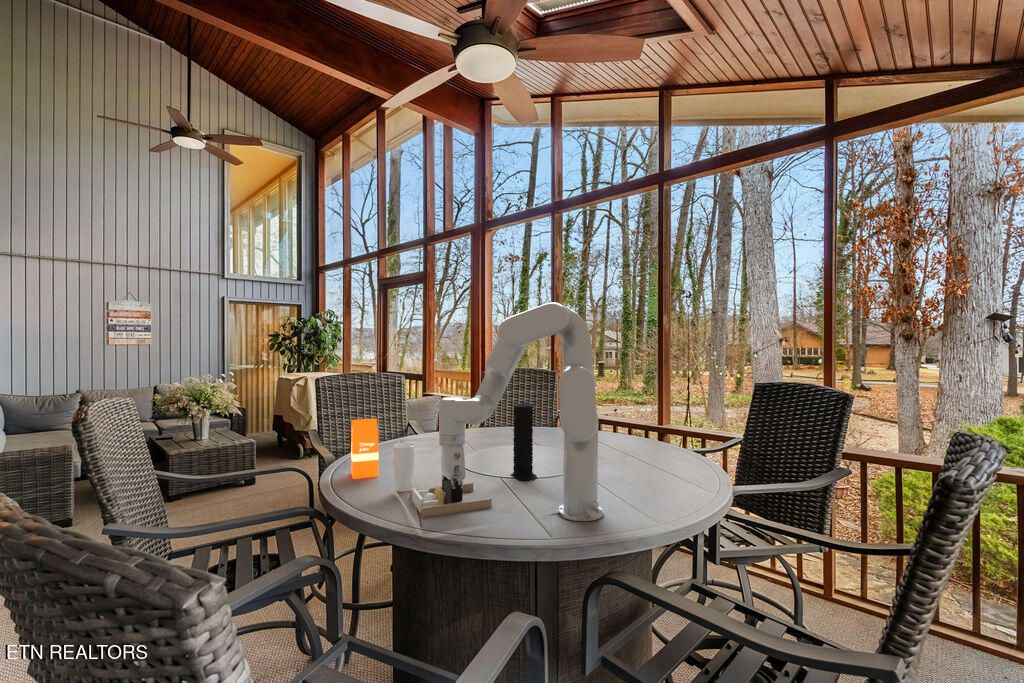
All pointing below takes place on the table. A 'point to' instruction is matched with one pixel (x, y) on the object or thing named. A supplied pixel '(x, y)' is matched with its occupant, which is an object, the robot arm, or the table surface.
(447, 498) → the grey cube yellow base
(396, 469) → the drinking glass
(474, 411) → the robot arm
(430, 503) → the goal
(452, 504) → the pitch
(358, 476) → the orange juice
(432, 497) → the ball
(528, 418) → the handle grip
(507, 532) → the table surface
